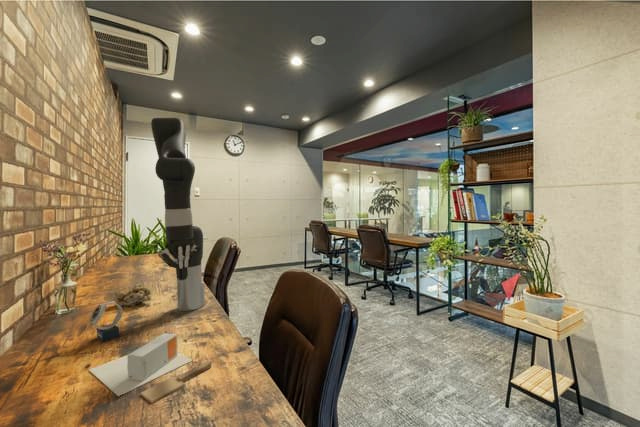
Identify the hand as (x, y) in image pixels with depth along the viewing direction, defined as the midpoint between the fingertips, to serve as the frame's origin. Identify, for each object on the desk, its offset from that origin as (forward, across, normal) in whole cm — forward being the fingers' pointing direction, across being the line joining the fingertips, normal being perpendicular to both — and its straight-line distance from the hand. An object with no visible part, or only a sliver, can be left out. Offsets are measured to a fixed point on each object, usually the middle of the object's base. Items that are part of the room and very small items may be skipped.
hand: (182, 279), depth 89 cm
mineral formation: (+19, -7, -49) cm, 53 cm away
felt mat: (+18, +15, +5) cm, 24 cm away
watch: (+18, +13, -22) cm, 31 cm away
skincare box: (+15, +8, +7) cm, 18 cm away
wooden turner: (+18, +14, +20) cm, 31 cm away
